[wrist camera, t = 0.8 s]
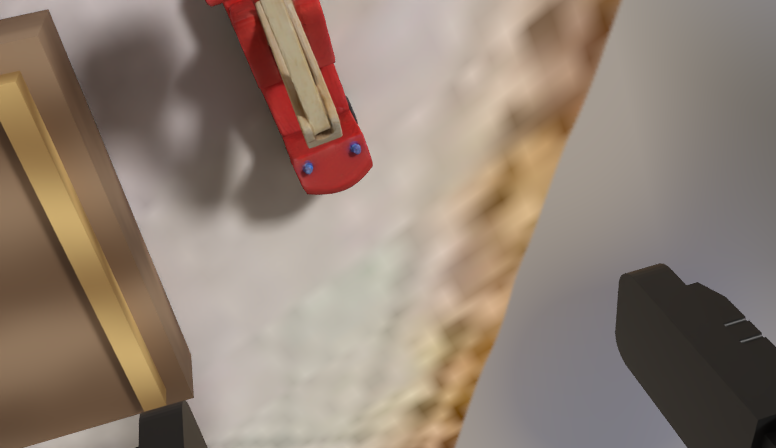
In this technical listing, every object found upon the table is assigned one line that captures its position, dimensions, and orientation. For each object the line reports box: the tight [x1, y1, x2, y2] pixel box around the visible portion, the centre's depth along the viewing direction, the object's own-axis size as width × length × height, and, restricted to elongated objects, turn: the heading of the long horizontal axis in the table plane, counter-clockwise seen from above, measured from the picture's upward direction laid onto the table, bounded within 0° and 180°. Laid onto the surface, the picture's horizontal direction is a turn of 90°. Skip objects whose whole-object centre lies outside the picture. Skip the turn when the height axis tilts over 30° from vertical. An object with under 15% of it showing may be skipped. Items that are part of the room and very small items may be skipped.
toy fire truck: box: [205, 0, 373, 195], centre depth 25 cm, size 3×14×10 cm, turn 17°
